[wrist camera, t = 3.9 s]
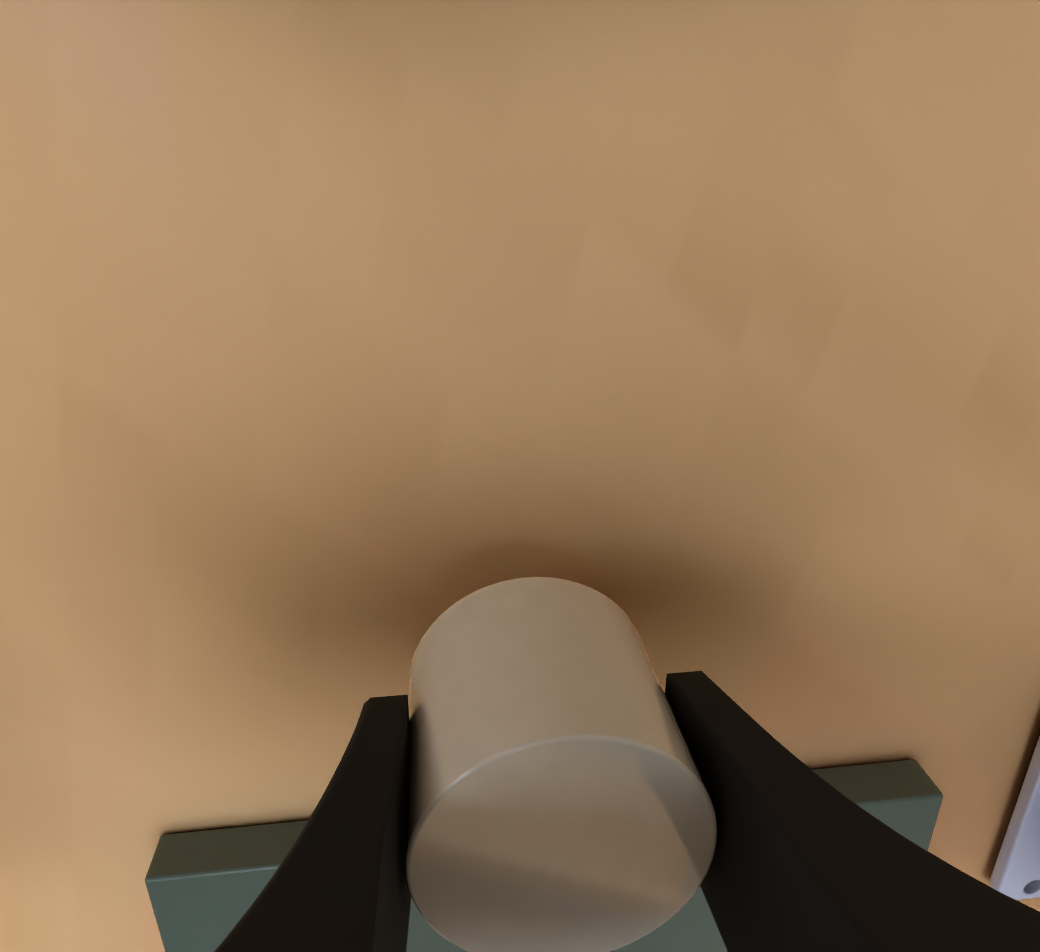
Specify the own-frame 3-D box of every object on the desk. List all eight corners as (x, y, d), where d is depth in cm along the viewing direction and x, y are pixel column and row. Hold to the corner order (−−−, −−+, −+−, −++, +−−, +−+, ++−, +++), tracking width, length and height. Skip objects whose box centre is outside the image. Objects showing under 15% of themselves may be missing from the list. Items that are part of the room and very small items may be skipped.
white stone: (651, 567, 14) (734, 723, 10) (637, 757, 15) (703, 948, 12) (401, 583, 13) (393, 752, 10) (416, 778, 15) (414, 983, 11)
